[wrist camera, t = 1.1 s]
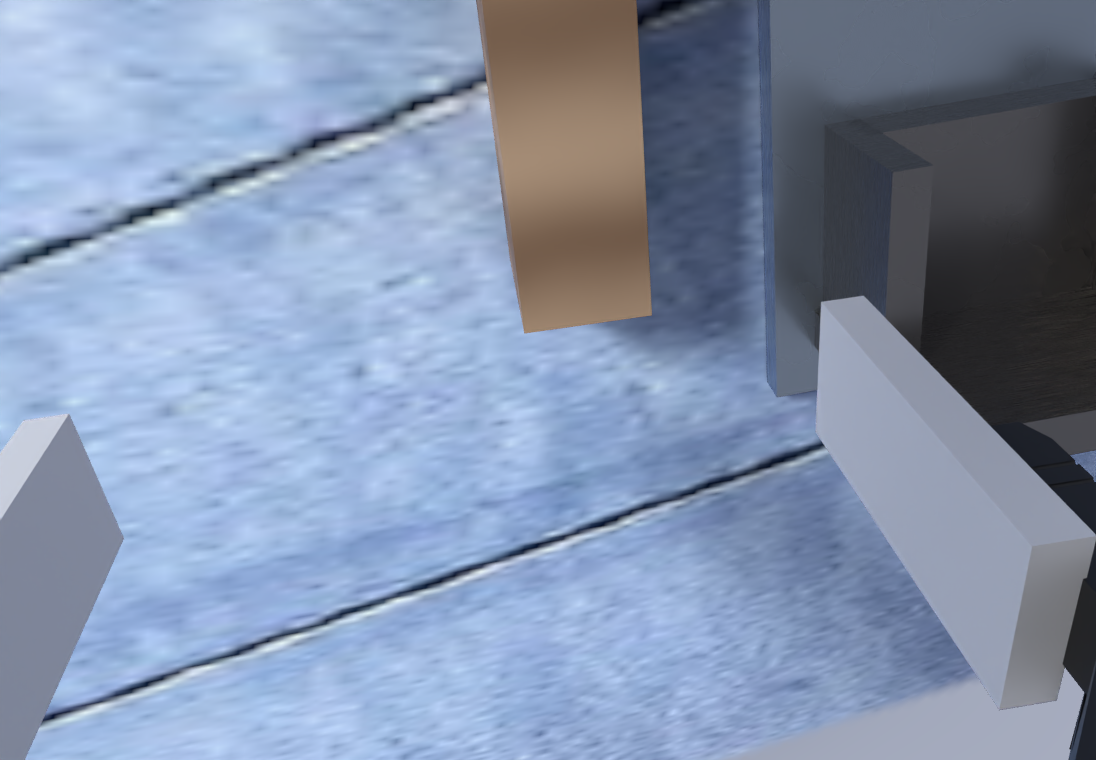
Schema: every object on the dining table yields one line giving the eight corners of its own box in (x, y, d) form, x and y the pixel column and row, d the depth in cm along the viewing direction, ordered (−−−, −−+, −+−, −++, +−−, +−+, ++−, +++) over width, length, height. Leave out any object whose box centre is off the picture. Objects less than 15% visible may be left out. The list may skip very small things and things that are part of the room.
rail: (427, -365, 25) (427, -420, 20) (576, -381, 25) (614, -440, 20) (509, 258, 34) (524, 333, 29) (618, 244, 34) (651, 315, 29)
